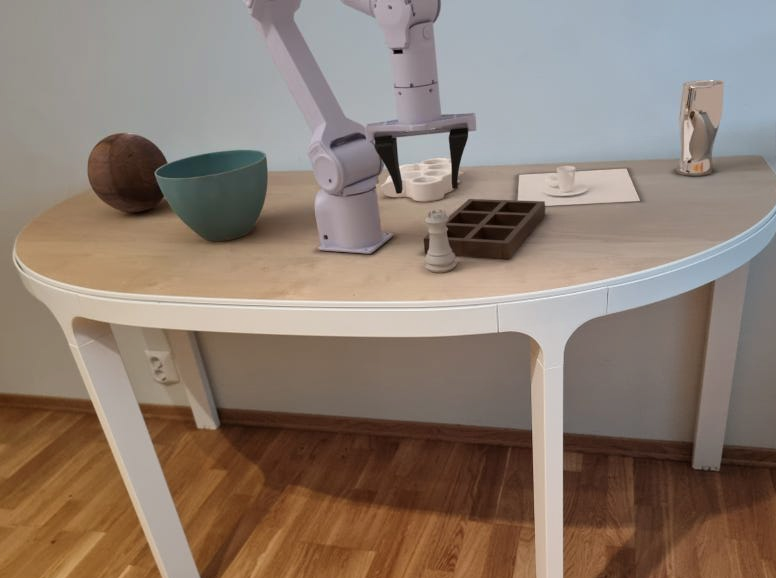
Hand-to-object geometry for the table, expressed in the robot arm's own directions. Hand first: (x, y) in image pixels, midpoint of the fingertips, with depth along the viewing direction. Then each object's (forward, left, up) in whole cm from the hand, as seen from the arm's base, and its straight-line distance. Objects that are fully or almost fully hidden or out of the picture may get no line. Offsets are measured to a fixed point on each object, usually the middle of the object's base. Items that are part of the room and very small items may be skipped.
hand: (427, 189), depth 96 cm
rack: (+4, +12, -10) cm, 16 cm away
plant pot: (-41, +5, -11) cm, 43 cm away
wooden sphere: (-70, +14, -11) cm, 73 cm away
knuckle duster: (-16, +34, -11) cm, 39 cm away
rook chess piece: (+2, -2, -11) cm, 11 cm away
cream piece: (+12, +37, -11) cm, 40 cm away
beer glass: (+31, +48, -11) cm, 58 cm away
